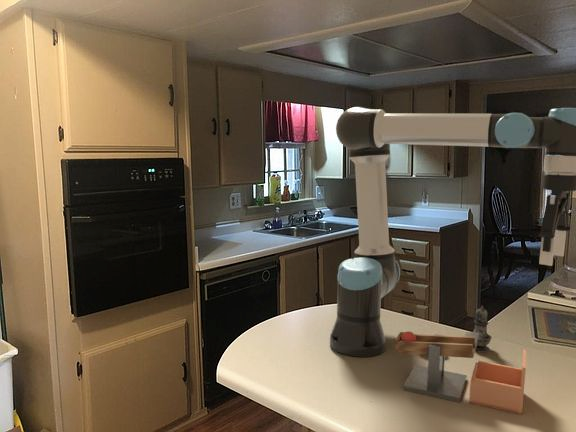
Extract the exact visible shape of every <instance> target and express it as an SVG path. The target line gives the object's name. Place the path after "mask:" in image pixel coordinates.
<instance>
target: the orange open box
mask: <svg viewBox="0 0 576 432" xmlns="http://www.w3.org/2000/svg"><path fill="white" fill-rule="evenodd" d="M521 362H522V363H521V368H520V367H514V366H509V365H504V364H498V363H494V362H488V361H484V360H478V362H476V361H475V363H474V366H473V371H472V373H471V378H470V387H469V400H468V401H469V402H468V403H470V404H474V405H478V406H483V407H487V408H492V409H496V410H501V411H505V412H510V413H512V414H513V413H514V414H519V415H523V408H524V407H523V406H524V405H523V404H524V396H525V395H524V393H525V381H526V380H525V379H526V367H527V349H523V351H522V360H521Z"/></svg>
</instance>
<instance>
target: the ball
mask: <svg viewBox="0 0 576 432" xmlns="http://www.w3.org/2000/svg"><path fill="white" fill-rule="evenodd" d="M403 332H404V333H403V334H402V336H401V341H416V336H415V334H416V333H414V332H412V331H410V330H409V331H403Z"/></svg>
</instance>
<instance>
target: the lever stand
mask: <svg viewBox="0 0 576 432" xmlns="http://www.w3.org/2000/svg"><path fill="white" fill-rule="evenodd" d="M434 335H439V334H437V333H436V334H434ZM445 359H446V356H441V346H435V345H429V355H428V363H427V367H426V366H423V365H418V364H414V366H413V368H412V369H411V371H410V373H409V374H408V377H407V378H406V380H405V382H404V384H403V386H402V387H403V388H402V390H403V391H407V392H410V393H415V394H420V395H425V396H429V397H434V398H439V399H443V400H447V401H452V402H456V403H460V402H461V399H462V395H463V392H464V388H465V385H466V381H467V374H461V373H456V372H452V371H447V370H445Z"/></svg>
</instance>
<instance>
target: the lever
mask: <svg viewBox="0 0 576 432" xmlns="http://www.w3.org/2000/svg"><path fill="white" fill-rule="evenodd" d="M404 332H405V331H400V332H399V333H398V335H397V336H396V337H395V339H394V347H395V351H399V354H400V355H419V356H429V345H435V346H441V356H445V357H450V358H467V359H474V356H475V353H476V351H475V350H476V347H477V343H478V340H479V333H472V332H473V331H472V332H469V331H467V332H465V334H464V336H463V335H447V334H446V335H445V334H444V335H443V334H438V335H435V334H417V333H414V334H415V336H416V341H401V336H402V334H403V333H404Z"/></svg>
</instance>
